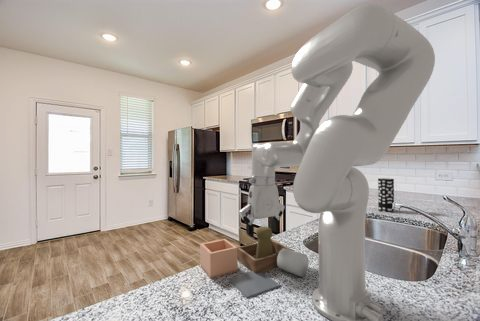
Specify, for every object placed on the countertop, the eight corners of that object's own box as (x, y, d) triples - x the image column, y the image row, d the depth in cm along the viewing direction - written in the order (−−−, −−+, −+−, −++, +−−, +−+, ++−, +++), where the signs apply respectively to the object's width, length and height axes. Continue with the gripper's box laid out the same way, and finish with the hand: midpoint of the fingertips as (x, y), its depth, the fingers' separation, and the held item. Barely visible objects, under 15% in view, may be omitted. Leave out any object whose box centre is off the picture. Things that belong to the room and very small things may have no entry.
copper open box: (237, 271, 67) (237, 247, 67) (210, 278, 63) (210, 253, 63) (225, 260, 74) (225, 238, 74) (200, 266, 70) (200, 243, 70)
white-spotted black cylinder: (381, 208, 146) (380, 178, 146) (396, 210, 140) (395, 178, 140) (376, 210, 141) (376, 179, 141) (391, 213, 135) (391, 179, 135)
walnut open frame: (294, 263, 71) (293, 250, 71) (255, 274, 64) (255, 260, 64) (271, 250, 82) (271, 239, 82) (236, 259, 75) (236, 247, 75)
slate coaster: (279, 286, 58) (279, 285, 58) (246, 298, 53) (246, 296, 53) (258, 270, 67) (258, 268, 67) (228, 279, 62) (228, 277, 62)
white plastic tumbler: (308, 272, 66) (308, 251, 66) (299, 280, 61) (298, 258, 61) (287, 264, 70) (287, 245, 70) (277, 272, 66) (276, 251, 66)
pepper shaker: (252, 263, 72) (251, 228, 72) (259, 255, 77) (259, 224, 77) (270, 267, 69) (269, 231, 69) (276, 259, 74) (276, 226, 74)
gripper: (246, 184, 66) (245, 242, 66) (291, 181, 74) (290, 232, 75) (234, 181, 72) (234, 234, 73) (277, 179, 81) (276, 226, 81)
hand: (262, 233), depth 74 cm, fingers open, 9 cm apart
